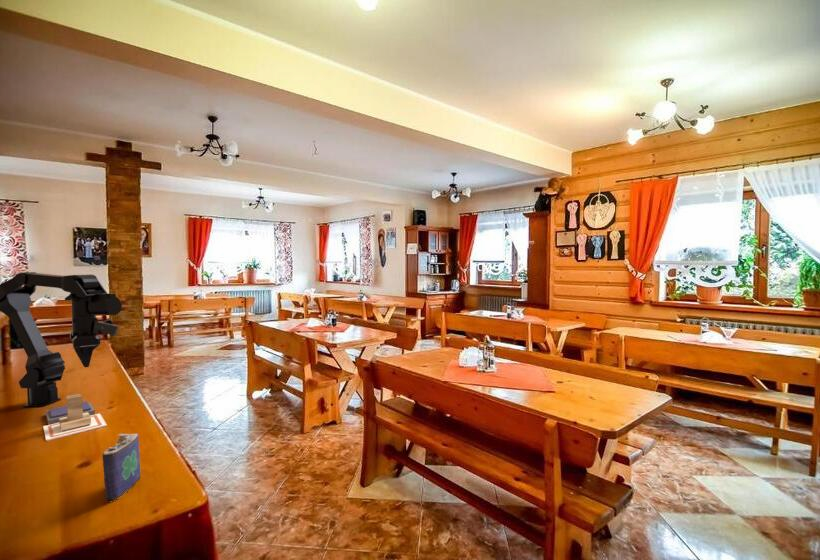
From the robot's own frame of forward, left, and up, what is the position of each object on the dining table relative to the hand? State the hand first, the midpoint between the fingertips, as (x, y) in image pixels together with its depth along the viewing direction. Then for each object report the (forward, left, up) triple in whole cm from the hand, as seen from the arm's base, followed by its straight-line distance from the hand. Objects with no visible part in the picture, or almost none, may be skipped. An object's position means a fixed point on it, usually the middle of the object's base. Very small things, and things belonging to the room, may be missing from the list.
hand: (85, 364), depth 121 cm
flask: (+44, -49, -13) cm, 67 cm away
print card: (+10, -18, -13) cm, 24 cm away
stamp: (+10, -18, -12) cm, 24 cm away
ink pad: (+2, -9, -13) cm, 15 cm away
